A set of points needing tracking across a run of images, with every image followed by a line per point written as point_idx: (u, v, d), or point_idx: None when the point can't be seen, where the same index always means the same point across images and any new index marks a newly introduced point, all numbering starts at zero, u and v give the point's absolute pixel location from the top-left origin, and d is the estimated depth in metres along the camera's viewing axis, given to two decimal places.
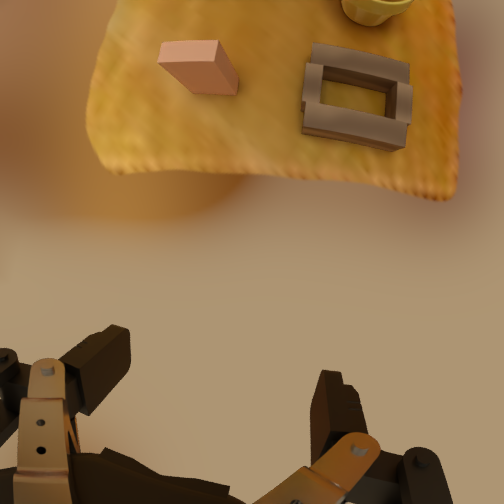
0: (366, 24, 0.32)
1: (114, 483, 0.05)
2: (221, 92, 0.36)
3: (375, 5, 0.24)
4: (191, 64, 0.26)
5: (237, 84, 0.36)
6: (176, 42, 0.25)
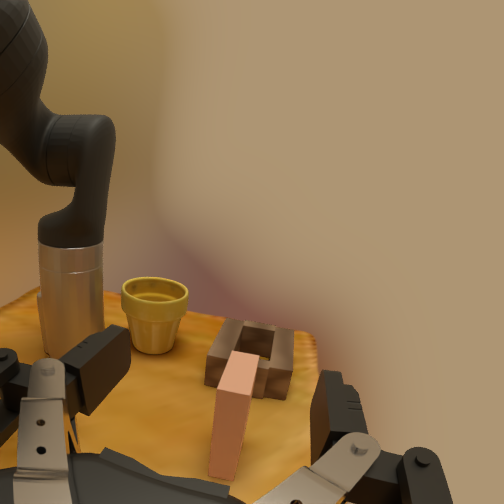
0: None
1: (114, 483, 0.05)
2: None
3: (185, 302, 0.44)
4: (254, 379, 0.25)
5: None
6: (223, 377, 0.23)
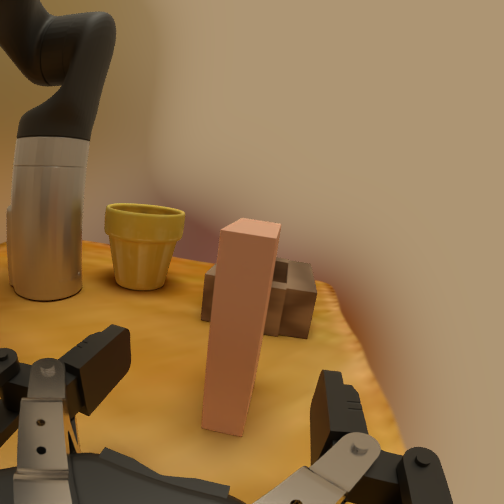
0: (164, 280, 0.39)
1: (114, 483, 0.05)
2: (253, 386, 0.20)
3: (181, 222, 0.37)
4: (277, 244, 0.17)
5: None
6: (231, 225, 0.15)
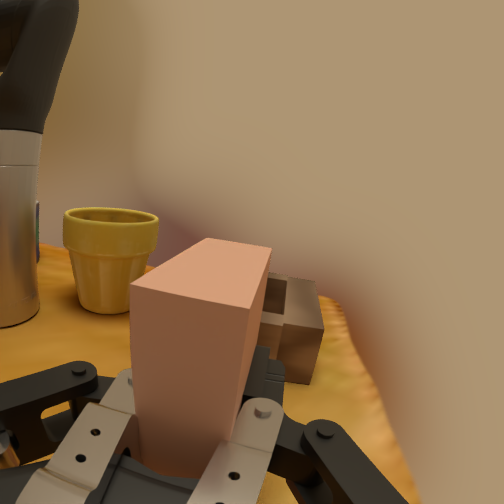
0: None
1: (114, 483, 0.05)
2: None
3: (152, 230, 0.29)
4: (261, 293, 0.09)
5: None
6: (167, 265, 0.08)
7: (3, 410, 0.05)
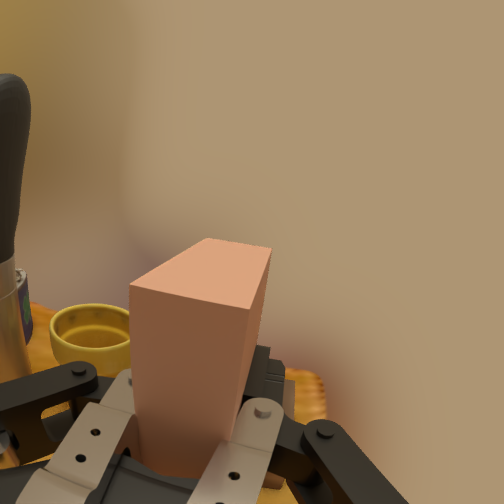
0: None
1: (114, 483, 0.05)
2: None
3: None
4: (261, 293, 0.09)
5: None
6: (166, 266, 0.08)
7: (3, 410, 0.05)
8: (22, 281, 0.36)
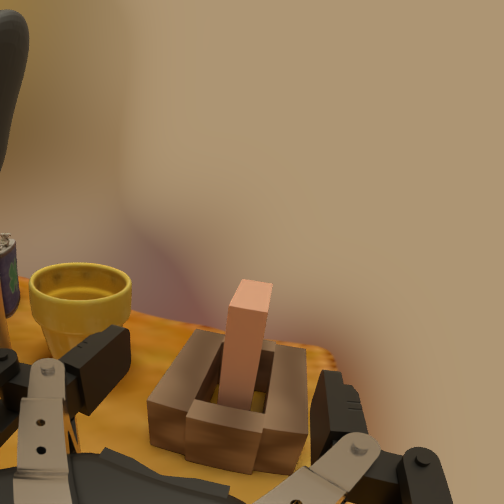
0: None
1: (114, 483, 0.05)
2: (251, 402, 0.26)
3: (123, 302, 0.25)
4: None
5: None
6: (235, 297, 0.21)
7: None
8: (9, 246, 0.32)
